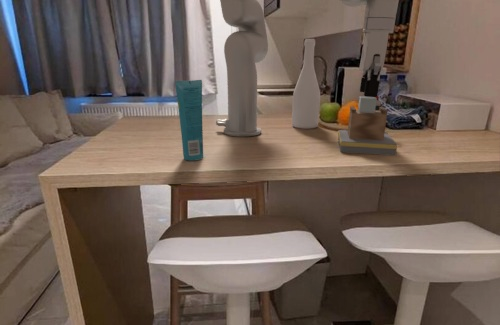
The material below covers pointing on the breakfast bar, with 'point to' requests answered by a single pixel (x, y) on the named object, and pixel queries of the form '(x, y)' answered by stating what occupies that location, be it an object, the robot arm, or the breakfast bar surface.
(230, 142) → the breakfast bar surface
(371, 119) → the brown open box
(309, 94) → the wine bottle
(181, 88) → the tube
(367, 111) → the light grey cube
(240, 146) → the breakfast bar surface
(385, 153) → the dock
